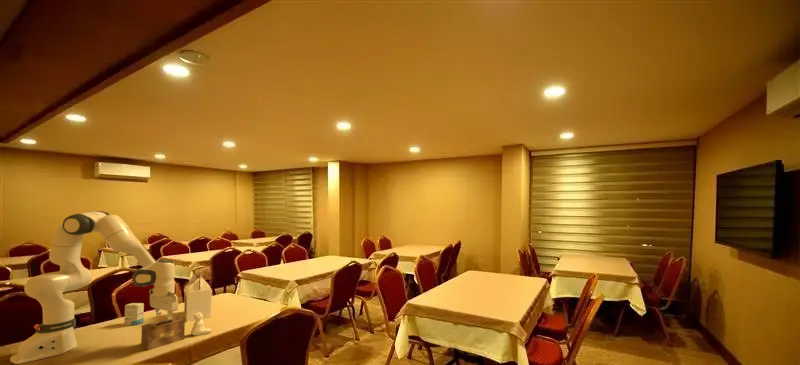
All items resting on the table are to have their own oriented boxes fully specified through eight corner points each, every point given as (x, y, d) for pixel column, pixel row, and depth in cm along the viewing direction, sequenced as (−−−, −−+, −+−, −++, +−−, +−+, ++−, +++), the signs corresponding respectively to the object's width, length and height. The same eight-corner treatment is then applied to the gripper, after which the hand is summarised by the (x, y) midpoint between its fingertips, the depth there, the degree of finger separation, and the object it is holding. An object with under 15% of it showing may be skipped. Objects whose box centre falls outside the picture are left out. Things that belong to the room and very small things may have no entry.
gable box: (184, 312, 218) (185, 270, 219) (207, 308, 226) (207, 267, 227) (186, 322, 200) (187, 275, 202) (211, 317, 208) (212, 272, 210)
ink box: (143, 322, 201) (144, 302, 202) (136, 325, 196) (137, 305, 197) (131, 322, 202) (131, 302, 203) (123, 325, 197) (124, 305, 198)
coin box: (148, 350, 162) (148, 329, 162) (141, 345, 168) (141, 325, 168) (184, 339, 175) (184, 320, 175) (176, 334, 181) (177, 316, 181)
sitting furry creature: (212, 332, 183) (212, 310, 184) (196, 338, 176) (196, 315, 176) (203, 329, 188) (203, 308, 189) (186, 334, 180) (187, 312, 181)
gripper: (182, 291, 171) (181, 318, 170) (160, 287, 180) (159, 313, 179) (169, 294, 165) (168, 322, 164) (147, 290, 175) (146, 316, 174)
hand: (163, 317), depth 172 cm, fingers open, 8 cm apart
